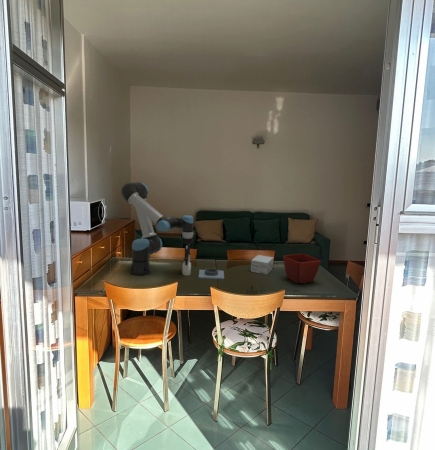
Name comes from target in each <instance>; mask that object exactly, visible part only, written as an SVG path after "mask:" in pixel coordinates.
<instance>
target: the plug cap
mask: <svg viewBox="0 0 435 450" xmlns="http://www.w3.org/2000/svg"><path fill="white" fill-rule="evenodd" d="M184 268H185V261H183V262H182V269H181V275H183V276H190V275H191V273H192V272H191V271H192V263H191V261H190V262H189V265H188V269H184Z"/></svg>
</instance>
